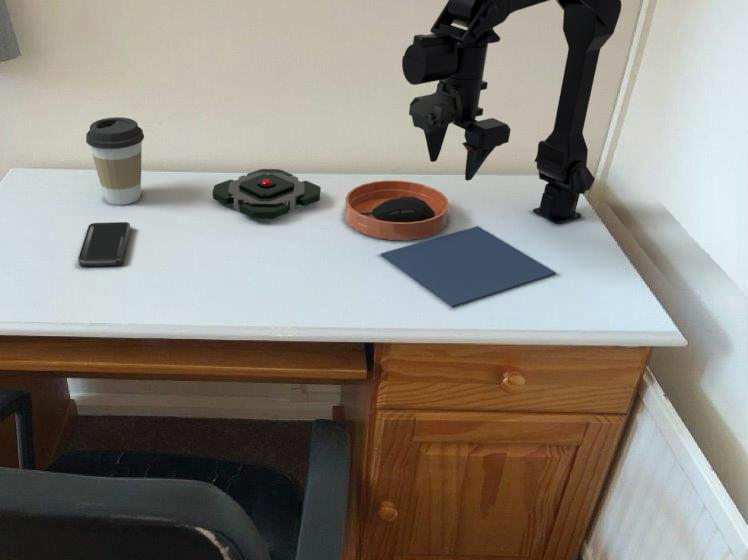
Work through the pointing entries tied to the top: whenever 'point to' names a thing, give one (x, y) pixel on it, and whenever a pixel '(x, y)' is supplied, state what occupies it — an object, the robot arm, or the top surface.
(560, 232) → the top surface
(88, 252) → the phone
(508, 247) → the mouse mat
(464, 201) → the top surface
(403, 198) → the gaming mouse
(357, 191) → the terracotta plant saucer
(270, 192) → the clover-shaped pad
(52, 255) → the top surface
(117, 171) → the coffee cup
